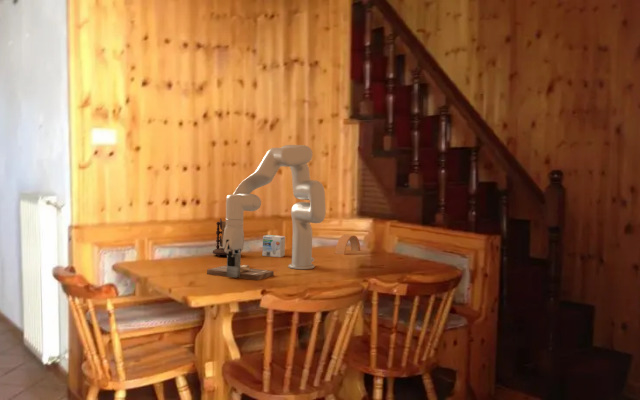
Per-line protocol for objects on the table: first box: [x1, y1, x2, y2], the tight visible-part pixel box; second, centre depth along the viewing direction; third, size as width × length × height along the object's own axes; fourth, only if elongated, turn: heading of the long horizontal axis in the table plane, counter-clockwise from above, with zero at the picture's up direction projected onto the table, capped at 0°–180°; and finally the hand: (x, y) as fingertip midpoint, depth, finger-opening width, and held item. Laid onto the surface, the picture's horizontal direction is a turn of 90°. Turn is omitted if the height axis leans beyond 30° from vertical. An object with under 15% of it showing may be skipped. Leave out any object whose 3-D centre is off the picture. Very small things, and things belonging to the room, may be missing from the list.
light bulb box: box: [262, 234, 286, 258], centre depth 357 cm, size 11×7×11 cm, turn 73°
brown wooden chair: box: [212, 218, 242, 258], centre depth 352 cm, size 15×15×20 cm
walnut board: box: [206, 265, 275, 281], centre depth 297 cm, size 14×26×2 cm, turn 64°
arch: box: [334, 234, 361, 255], centre depth 379 cm, size 6×20×10 cm, turn 150°
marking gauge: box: [226, 253, 250, 278], centre depth 292 cm, size 12×5×10 cm, turn 154°
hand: (233, 265), depth 288 cm, fingers closed on marking gauge, 3 cm apart
